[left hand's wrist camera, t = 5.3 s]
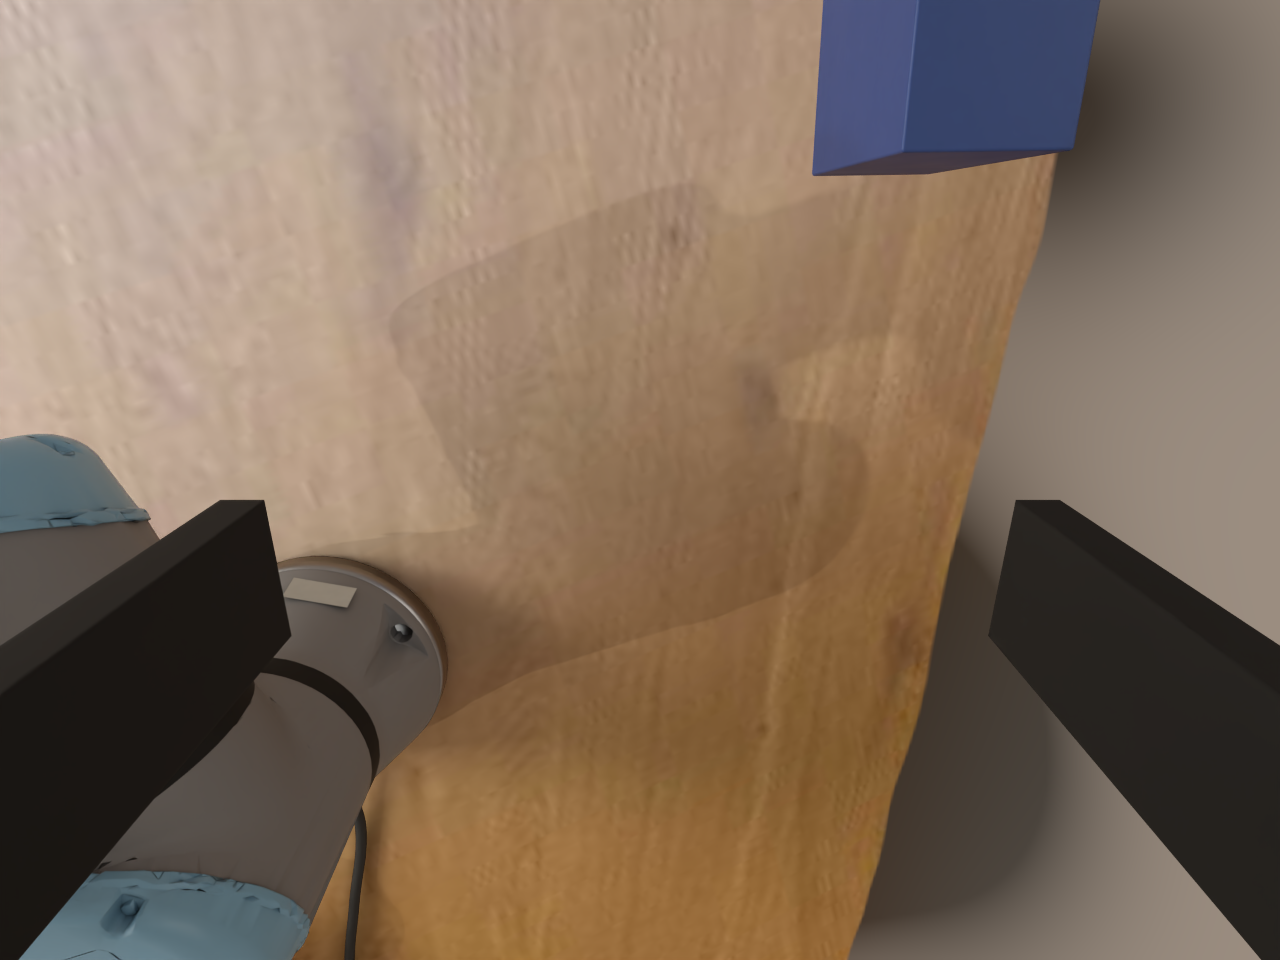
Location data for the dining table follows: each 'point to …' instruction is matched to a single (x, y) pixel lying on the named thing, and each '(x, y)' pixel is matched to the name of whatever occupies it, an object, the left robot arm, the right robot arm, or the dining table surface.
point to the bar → (948, 83)
